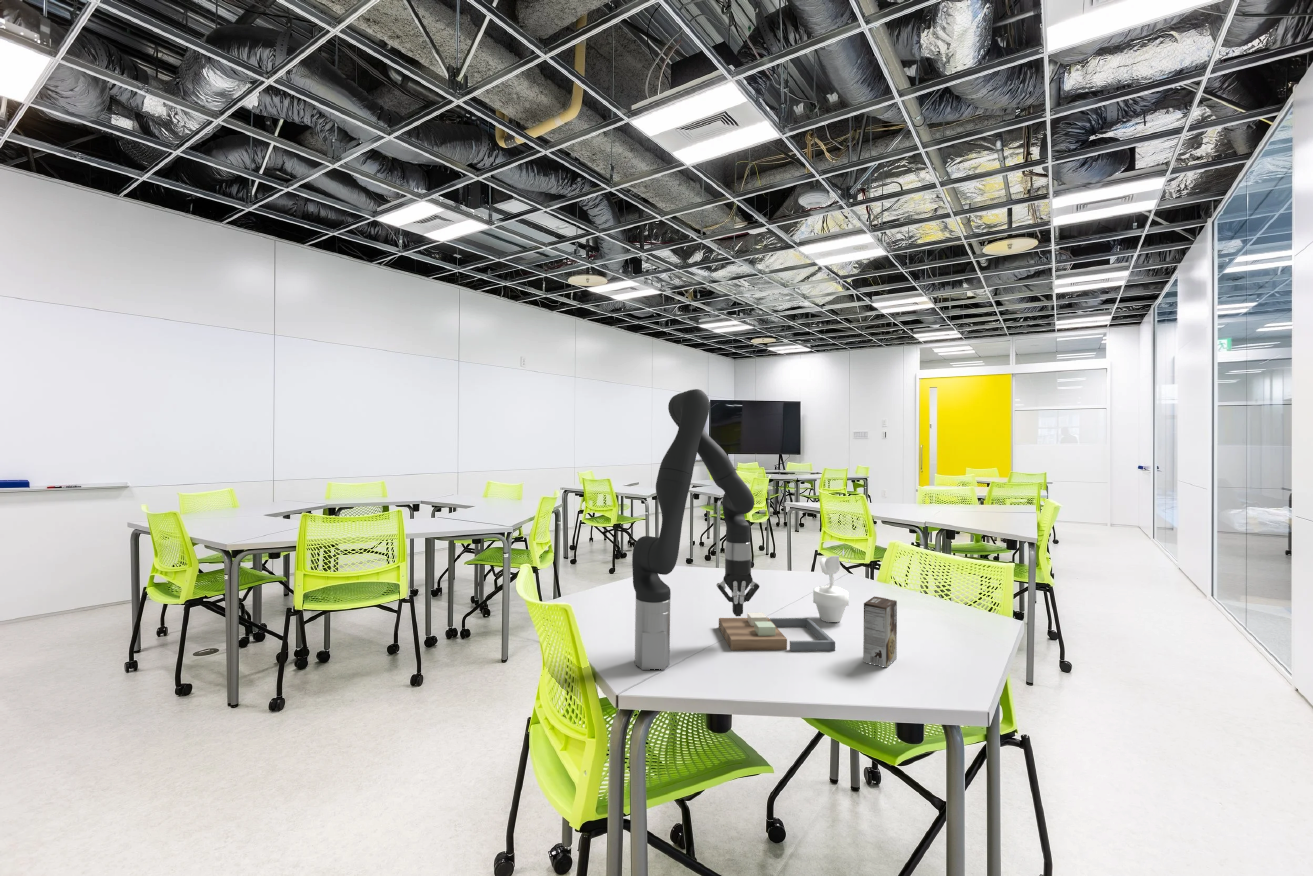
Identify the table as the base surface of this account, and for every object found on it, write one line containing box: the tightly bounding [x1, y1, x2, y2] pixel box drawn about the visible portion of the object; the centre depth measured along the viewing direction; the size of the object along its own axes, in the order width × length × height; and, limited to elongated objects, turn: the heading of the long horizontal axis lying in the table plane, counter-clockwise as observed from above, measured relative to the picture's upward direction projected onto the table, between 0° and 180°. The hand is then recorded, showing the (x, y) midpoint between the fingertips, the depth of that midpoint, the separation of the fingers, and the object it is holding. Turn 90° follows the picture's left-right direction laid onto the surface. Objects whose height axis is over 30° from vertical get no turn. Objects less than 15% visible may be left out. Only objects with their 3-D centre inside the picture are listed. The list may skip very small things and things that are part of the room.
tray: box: [769, 617, 836, 652], centre depth 172 cm, size 22×13×2 cm, turn 4°
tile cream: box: [746, 612, 768, 626], centre depth 176 cm, size 5×5×2 cm
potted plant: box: [812, 547, 851, 623], centre depth 190 cm, size 13×12×25 cm
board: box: [718, 617, 788, 651], centre depth 171 cm, size 20×16×3 cm
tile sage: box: [754, 622, 776, 636], centre depth 167 cm, size 5×5×2 cm
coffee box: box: [862, 596, 898, 668], centre depth 155 cm, size 9×6×16 cm
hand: (737, 615), depth 167 cm, fingers closed
